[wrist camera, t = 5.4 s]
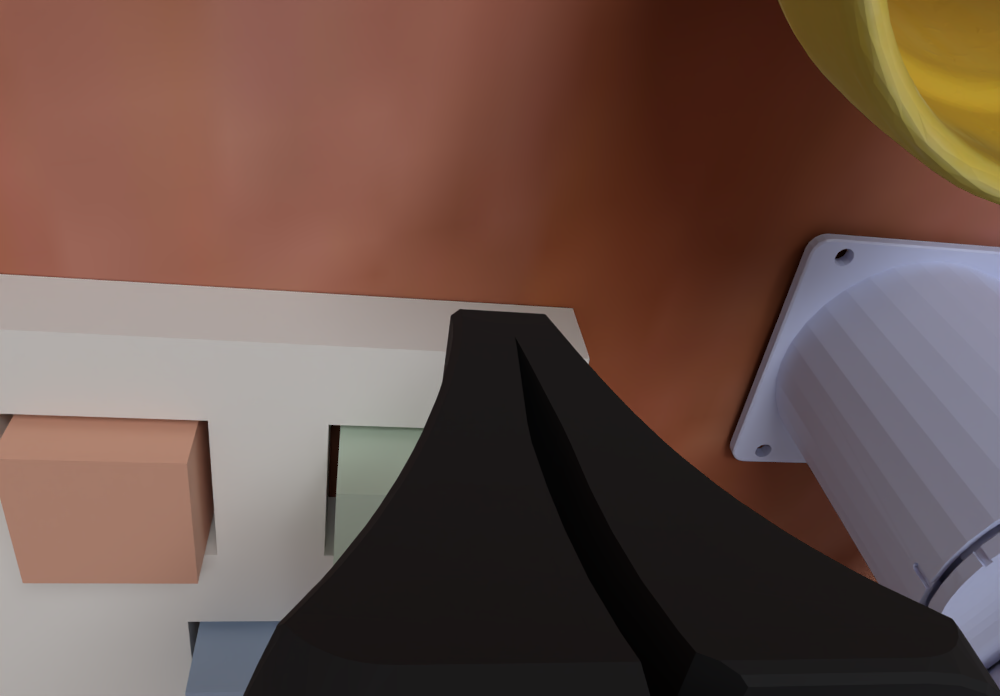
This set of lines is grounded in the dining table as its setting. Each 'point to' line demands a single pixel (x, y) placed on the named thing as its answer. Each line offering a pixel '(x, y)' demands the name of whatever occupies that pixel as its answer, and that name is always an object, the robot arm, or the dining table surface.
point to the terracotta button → (107, 498)
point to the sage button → (367, 475)
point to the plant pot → (916, 76)
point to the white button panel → (233, 449)
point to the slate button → (227, 656)
